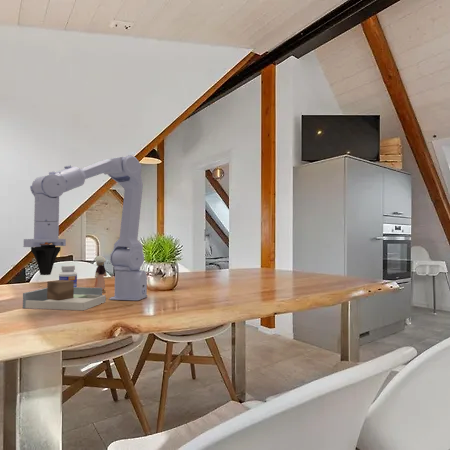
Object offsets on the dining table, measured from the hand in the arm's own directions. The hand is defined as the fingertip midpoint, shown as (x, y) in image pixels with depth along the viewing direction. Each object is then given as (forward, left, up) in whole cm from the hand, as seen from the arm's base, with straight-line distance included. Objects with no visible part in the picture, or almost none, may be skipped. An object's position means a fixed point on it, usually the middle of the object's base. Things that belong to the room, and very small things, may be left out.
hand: (45, 274), depth 95 cm
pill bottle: (+9, -25, -10) cm, 28 cm away
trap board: (0, -10, -9) cm, 14 cm away
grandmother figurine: (+2, -33, -10) cm, 34 cm away
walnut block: (+1, -8, -7) cm, 11 cm away
